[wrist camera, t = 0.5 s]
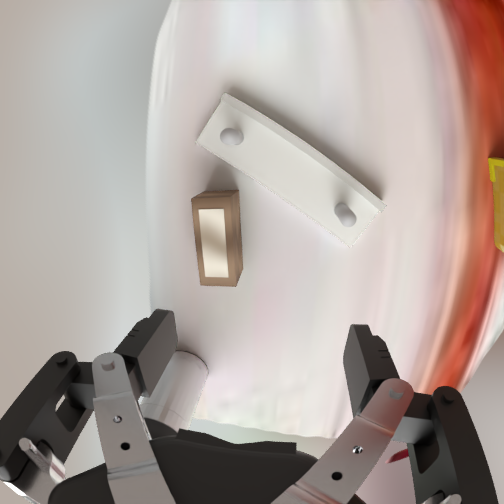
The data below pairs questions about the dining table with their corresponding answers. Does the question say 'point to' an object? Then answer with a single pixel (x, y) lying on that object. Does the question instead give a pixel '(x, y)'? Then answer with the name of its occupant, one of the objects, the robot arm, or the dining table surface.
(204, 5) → the dining table surface
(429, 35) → the dining table surface
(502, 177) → the book
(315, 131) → the dining table surface
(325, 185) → the board
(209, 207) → the frame
